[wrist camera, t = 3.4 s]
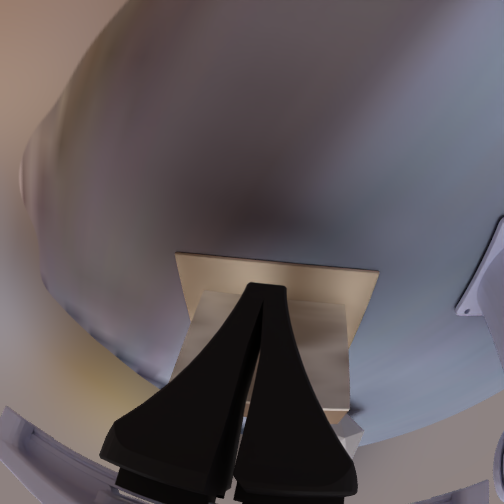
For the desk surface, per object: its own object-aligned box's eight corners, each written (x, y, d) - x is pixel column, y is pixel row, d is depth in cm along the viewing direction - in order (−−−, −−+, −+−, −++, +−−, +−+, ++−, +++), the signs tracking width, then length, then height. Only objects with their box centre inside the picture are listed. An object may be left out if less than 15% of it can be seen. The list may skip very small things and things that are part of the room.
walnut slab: (344, 304, 17) (349, 408, 11) (336, 328, 18) (337, 424, 13) (203, 290, 18) (167, 385, 13) (208, 314, 20) (178, 403, 14)
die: (310, 421, 33) (351, 470, 25) (258, 438, 28) (300, 499, 21) (339, 382, 30) (390, 435, 23) (285, 398, 26) (340, 468, 18)
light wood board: (378, 271, 15) (379, 273, 15) (326, 391, 25) (326, 393, 25) (176, 252, 17) (174, 254, 17) (207, 377, 27) (207, 379, 26)
